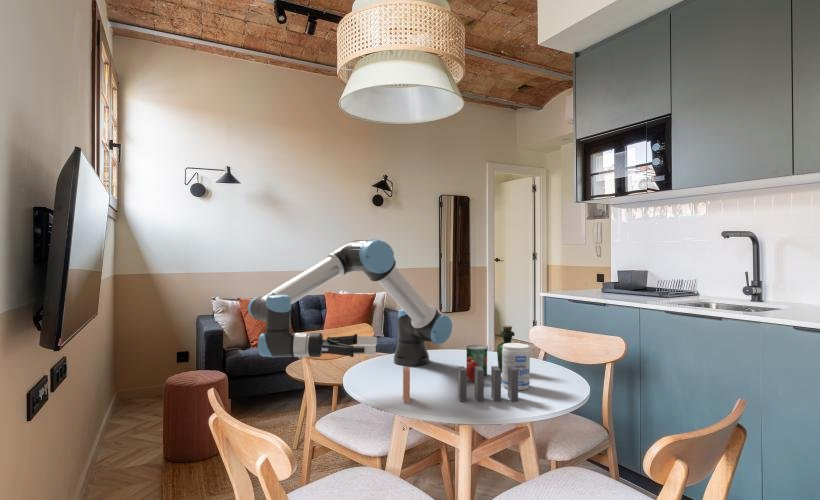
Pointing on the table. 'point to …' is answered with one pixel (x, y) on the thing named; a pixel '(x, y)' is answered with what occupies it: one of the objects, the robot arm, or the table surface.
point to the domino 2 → (479, 384)
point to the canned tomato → (478, 356)
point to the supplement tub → (516, 363)
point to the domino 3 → (496, 383)
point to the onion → (471, 371)
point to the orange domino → (406, 384)
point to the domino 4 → (512, 383)
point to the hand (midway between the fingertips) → (376, 344)
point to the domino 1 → (462, 384)
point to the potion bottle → (507, 338)
